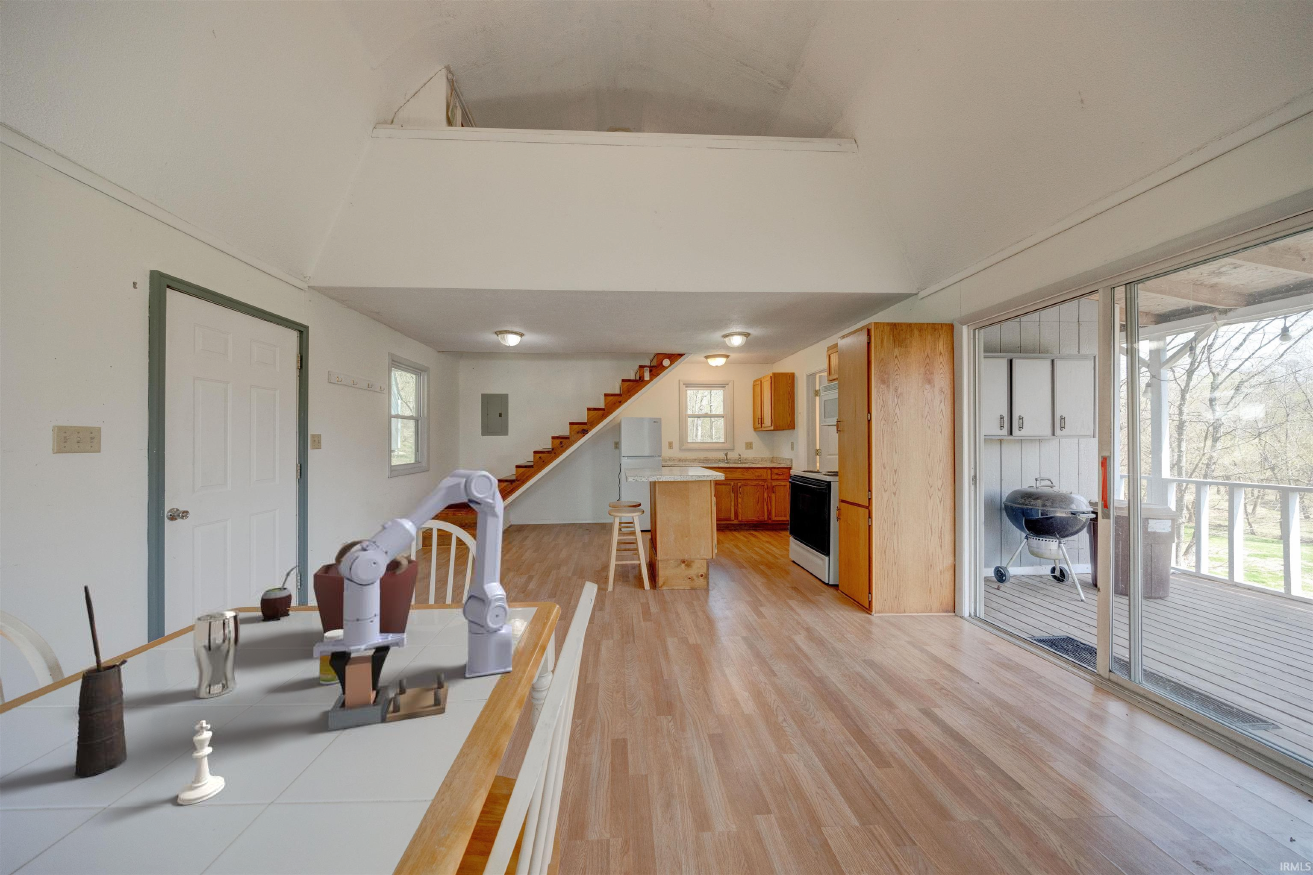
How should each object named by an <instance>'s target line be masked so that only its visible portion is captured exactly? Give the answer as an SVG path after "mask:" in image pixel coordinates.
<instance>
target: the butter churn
mask: <svg viewBox="0 0 1313 875" xmlns="http://www.w3.org/2000/svg"><path fill="white" fill-rule="evenodd" d="M83 587H84V588H83V590H84V598H85V605H86V611H87V615H88V622H89V628H90V633H91V640H92V646H93V651H94V652H93V653H94V656H95V664H96V667H94V668H89V669H87V670H86V671H84V672H83V673H82V677H81V683H80V689H79V695H78V710H77V715H78V721H77V724H78V725H77V730H78V731H77V741H76V753H75V755H76V756H75V771H74V772H75V773H74V774H75V776H76V777H78V778H85V777H86V778H87V777H90V776H93V775H97V774H102V773H104V772H106V771H108V770H110V769H114V768H116V767H118V766H120V765H121V764H123V763H124V762H125V761H126V759H127V757H128V755H127V743H126V736H125V734H126V733H125V731H126V730H125V723H124V720H125V719H124V697H123V696H124V690H123V687H124V686H123V685H124V684H123V680H122V678H123V677H122V668H121V667H122V666H123V665H125V664H127V662H128V659H123V660H121V661H120V662H119V663H115V664H108V665H103V663H102V660H101V651H100V646H99V640H98V635H97V629H96V621H95V613H94V612H95V611H94V607H93V601H92V598H91V594H90V589H89V586H88V585H87V584H86V585H84V586H83Z"/></svg>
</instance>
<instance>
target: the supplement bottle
mask: <svg viewBox="0 0 1313 875" xmlns="http://www.w3.org/2000/svg"><path fill="white" fill-rule="evenodd" d="M342 638H343V630H342V629H340V630H333V631H329V632H327V633H325V634H324V633H323V642H328V641H333V640H337V639H342ZM330 657H331V655H322V656H321V657H319V670H318V671H319V673H318V674H319V678H318V679H319V683H320V684H322V685H335V684H340V682H339V679H338V677H337V675H336V673H335V672H334V670H333V669H332V668H331V666H330V665H329V660H330Z"/></svg>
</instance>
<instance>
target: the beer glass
mask: <svg viewBox="0 0 1313 875" xmlns="http://www.w3.org/2000/svg"><path fill="white" fill-rule="evenodd" d="M239 614H240V612H239V611H238V610H233V609H232V610H230V609H229V610H219V611H214V612H210V613H206V614H202V615H200V616H197V617H196V618H195V619H194V621H195V622H194V629H193V641H192V642H193V646H192V647H193V653H194V658H195V663H196V666H197V668H196V669H197V673H198V683H197V686H196V691H195V697H196V698H198V699H209V698H214V697H218V696H221V695H225V694H227V693H229V692H232V691H233V690H234V689H236V687H237V680H236V677H235V664H236V663H235V662H236V657H237V654H238V648H239V644H240V637H241V636H240V634H241V629H240V628H241V624H240V615H239Z"/></svg>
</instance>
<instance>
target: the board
mask: <svg viewBox="0 0 1313 875" xmlns="http://www.w3.org/2000/svg"><path fill="white" fill-rule="evenodd" d="M398 684H399V685H398V690H396V691H395V692H394V696H393V697H392V700H391V703H390V706H389V709H388V712H387V714H386V720H385V722H386V723H390V722H396V721H404V720H407V719H408V720H409V719H414V718H415V719H416V718H421V717H428V716H434V715H440V714H444V713H446V710H447V709H446V708H447V701H448V696H449V688H450V684H449V683H445V674H444V673H439V674H437V684H436V685H430V686H429V685H427V686H423V687H422V686H421V687H415V688H408V689H407V679H406V678H402V679H399V682H398Z"/></svg>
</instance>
